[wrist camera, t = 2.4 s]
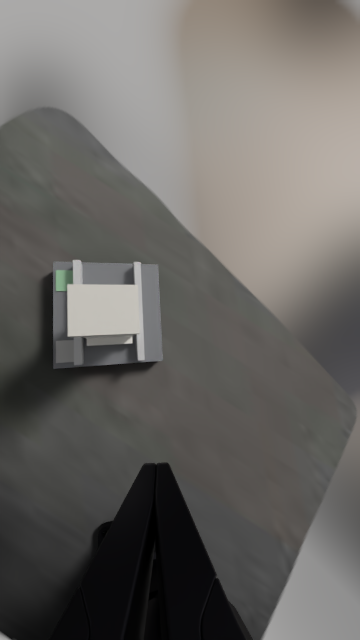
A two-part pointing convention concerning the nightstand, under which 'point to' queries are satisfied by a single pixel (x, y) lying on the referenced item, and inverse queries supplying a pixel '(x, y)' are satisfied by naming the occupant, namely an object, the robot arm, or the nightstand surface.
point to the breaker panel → (77, 272)
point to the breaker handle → (103, 313)
